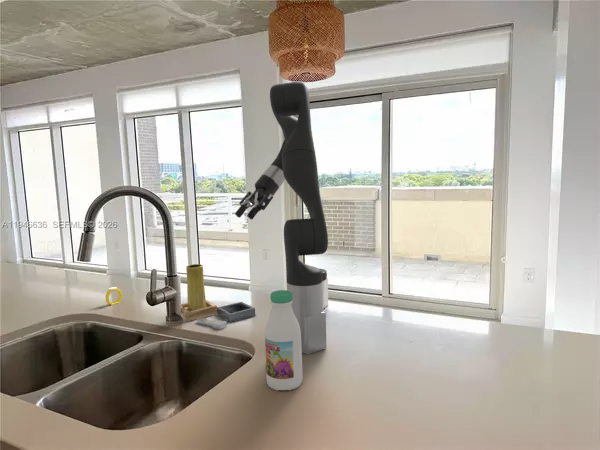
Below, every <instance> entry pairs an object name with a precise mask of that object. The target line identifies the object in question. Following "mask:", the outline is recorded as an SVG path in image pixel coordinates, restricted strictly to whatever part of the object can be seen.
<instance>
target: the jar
mask: <svg viewBox="0 0 600 450" xmlns="http://www.w3.org/2000/svg"><path fill="white" fill-rule="evenodd" d="M319 269H320V270H321V271H322V275H323V310H325V308H326V307H328V305H329V278H328V273H327V270H326V269H323V268H319Z"/></svg>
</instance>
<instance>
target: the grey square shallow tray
mask: <svg viewBox="0 0 600 450" xmlns="http://www.w3.org/2000/svg"><path fill="white" fill-rule="evenodd" d="M216 315H217V316H218V317H221V318H222V319H224V320H225V321H226V322H229V323H231V322H232V323H233V322H236V321H240V320H243V319H247V318H251V317H255V316H256V308H255V307H253V306H251V305H250V304H247V303H245V302H244V301H239V302H235V303H229V304H227V305H222V306H217V314H216Z"/></svg>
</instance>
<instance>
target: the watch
mask: <svg viewBox="0 0 600 450" xmlns="http://www.w3.org/2000/svg"><path fill="white" fill-rule="evenodd" d="M114 291H117V295H118V296H117V299H116V301H114V302H112V303H111V301H110V294H111V293H112V292H114ZM122 296H123V294H122V291H121V289H120V288H118V287H117V286H112V287H109V288H108V290H107V291H106V294H105V302H106V303H107V304H108V305H111V306H114V305H117V304H119V303H120V302H121V300H122Z"/></svg>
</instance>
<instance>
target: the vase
mask: <svg viewBox="0 0 600 450" xmlns="http://www.w3.org/2000/svg"><path fill="white" fill-rule="evenodd" d="M185 267H186V268H185V269H186V284H187V285H186V286H187V287H186V288H187V297H186V298H187V303H188V310H190V311H193V310H198V309H202V308H206V307H207V306H206V300H207V299H206V291H205V280H204V279H205V277H204V265H203V264H201V263H196V264H195V263H194V264H189V265H187V266H185Z"/></svg>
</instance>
